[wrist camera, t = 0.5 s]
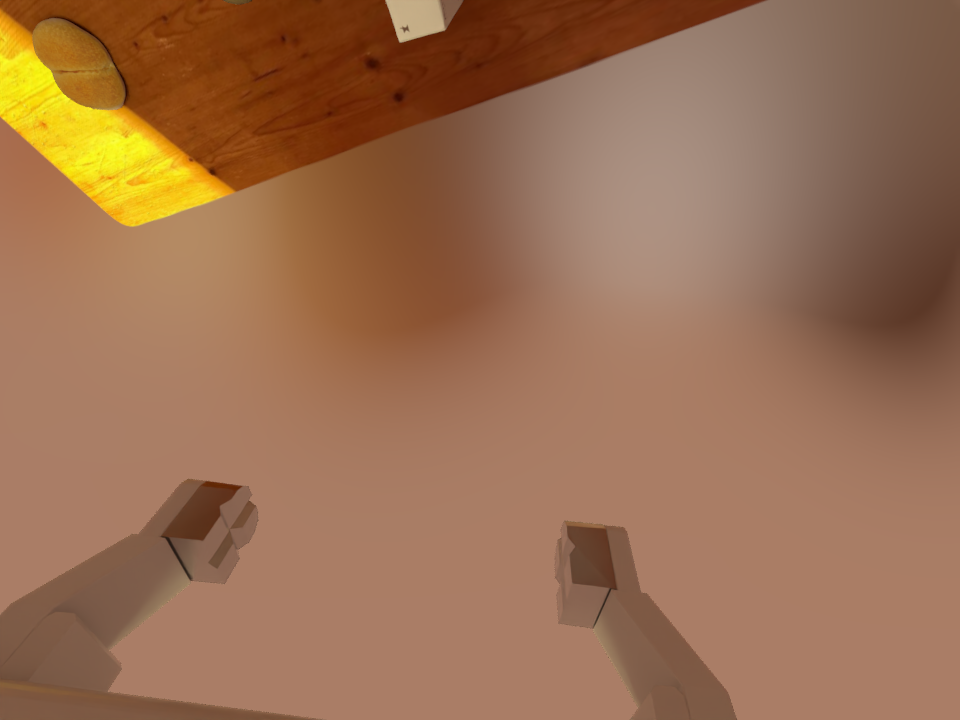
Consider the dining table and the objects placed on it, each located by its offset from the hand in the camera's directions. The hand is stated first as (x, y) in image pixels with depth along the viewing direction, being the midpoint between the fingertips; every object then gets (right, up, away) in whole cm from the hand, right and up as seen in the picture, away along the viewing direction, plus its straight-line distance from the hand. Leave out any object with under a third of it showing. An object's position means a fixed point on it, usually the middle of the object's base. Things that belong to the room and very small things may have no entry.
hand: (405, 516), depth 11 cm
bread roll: (-45, +39, +41) cm, 72 cm away
